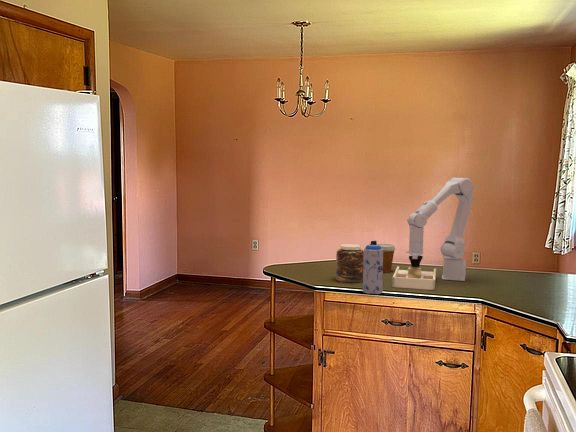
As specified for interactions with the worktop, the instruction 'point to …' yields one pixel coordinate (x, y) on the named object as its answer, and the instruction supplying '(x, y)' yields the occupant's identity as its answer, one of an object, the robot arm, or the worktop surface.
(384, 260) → the disposable coffee cup
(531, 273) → the worktop surface
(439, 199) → the robot arm
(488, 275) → the worktop surface
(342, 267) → the jar
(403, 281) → the trap box
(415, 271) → the maple block
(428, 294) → the worktop surface
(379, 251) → the aerosol can
